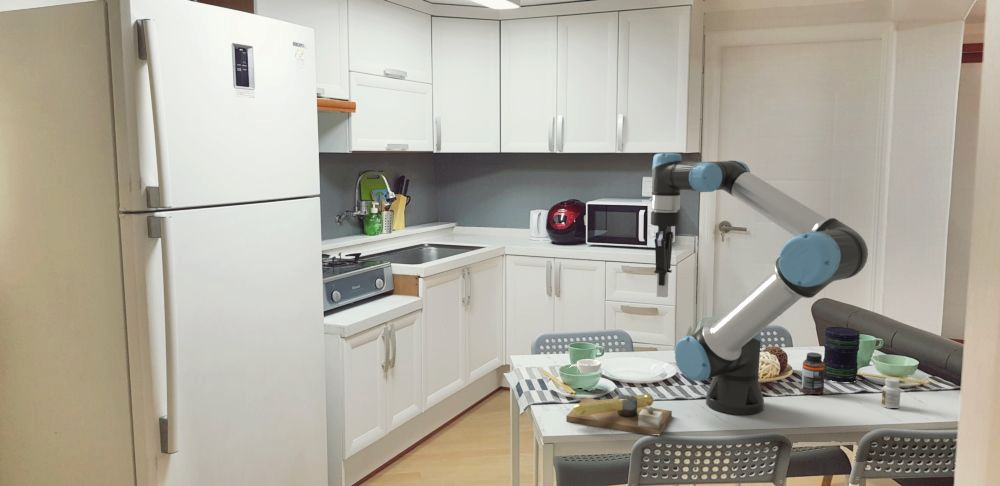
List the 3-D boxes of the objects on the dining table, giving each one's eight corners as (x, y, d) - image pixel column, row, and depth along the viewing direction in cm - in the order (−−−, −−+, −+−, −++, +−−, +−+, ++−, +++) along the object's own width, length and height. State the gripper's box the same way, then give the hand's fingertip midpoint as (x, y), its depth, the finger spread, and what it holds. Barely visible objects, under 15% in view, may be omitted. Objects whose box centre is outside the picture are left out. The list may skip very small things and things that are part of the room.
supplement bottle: (811, 387, 227) (814, 350, 226) (828, 393, 222) (830, 355, 220) (796, 390, 225) (798, 352, 223) (812, 396, 220) (815, 358, 218)
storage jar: (831, 371, 243) (834, 325, 241) (862, 379, 235) (866, 331, 233) (815, 377, 237) (818, 330, 235) (846, 385, 229) (850, 336, 227)
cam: (646, 406, 206) (647, 391, 205) (657, 412, 201) (657, 396, 200) (569, 417, 197) (569, 401, 197) (578, 424, 193) (578, 408, 192)
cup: (600, 393, 221) (600, 366, 220) (565, 391, 223) (565, 364, 221) (600, 385, 228) (601, 359, 227) (566, 384, 229) (567, 357, 228)
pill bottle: (882, 402, 215) (884, 375, 214) (899, 405, 213) (902, 378, 212) (880, 407, 211) (882, 380, 210) (898, 410, 209) (900, 383, 208)
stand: (671, 416, 204) (672, 394, 203) (659, 436, 190) (659, 412, 189) (584, 403, 213) (584, 381, 212) (566, 421, 200) (566, 398, 199)
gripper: (656, 208, 216) (653, 290, 220) (645, 212, 205) (643, 299, 208) (683, 209, 213) (680, 293, 217) (674, 213, 202) (671, 302, 205)
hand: (662, 296), depth 212 cm, fingers closed
